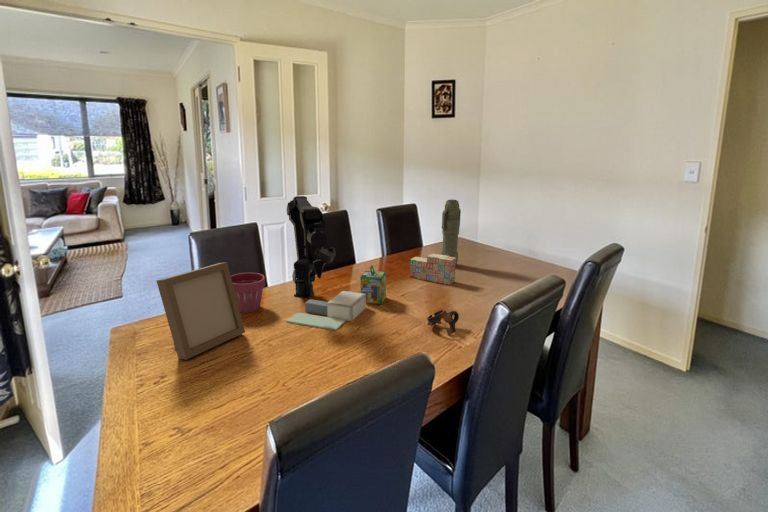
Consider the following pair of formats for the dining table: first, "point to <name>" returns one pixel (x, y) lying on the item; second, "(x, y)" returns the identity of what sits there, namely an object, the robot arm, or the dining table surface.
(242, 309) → the plant pot
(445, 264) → the stack of blocks
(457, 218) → the dark grey statuette
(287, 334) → the dining table surface
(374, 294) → the green product box
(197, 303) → the photo frame
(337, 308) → the gray cuboid case
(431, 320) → the dark looped figurine
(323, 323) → the felt pad
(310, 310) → the grey blank
